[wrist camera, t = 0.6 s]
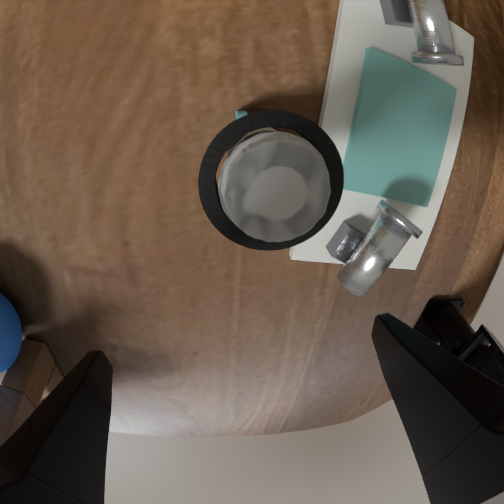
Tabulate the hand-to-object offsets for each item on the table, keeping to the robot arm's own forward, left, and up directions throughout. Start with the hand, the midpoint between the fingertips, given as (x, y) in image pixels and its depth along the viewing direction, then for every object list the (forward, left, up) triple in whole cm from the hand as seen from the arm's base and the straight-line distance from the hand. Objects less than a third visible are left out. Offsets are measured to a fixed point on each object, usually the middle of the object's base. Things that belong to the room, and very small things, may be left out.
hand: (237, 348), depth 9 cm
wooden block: (+20, +23, -13) cm, 33 cm away
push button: (-1, -3, -13) cm, 14 cm away
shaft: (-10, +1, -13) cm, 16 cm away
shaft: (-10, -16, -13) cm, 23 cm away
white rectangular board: (-11, -7, -13) cm, 19 cm away
